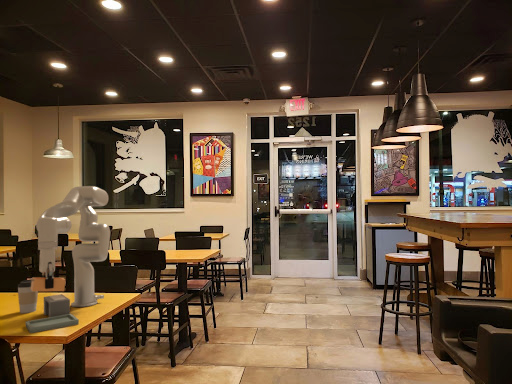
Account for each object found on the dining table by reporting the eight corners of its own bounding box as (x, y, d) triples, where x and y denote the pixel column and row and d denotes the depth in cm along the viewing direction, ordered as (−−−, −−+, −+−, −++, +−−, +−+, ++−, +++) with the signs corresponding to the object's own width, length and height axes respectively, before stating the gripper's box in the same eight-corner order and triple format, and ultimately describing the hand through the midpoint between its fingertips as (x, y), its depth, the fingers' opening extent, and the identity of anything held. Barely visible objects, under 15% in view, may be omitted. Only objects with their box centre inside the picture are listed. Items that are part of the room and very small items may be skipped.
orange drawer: (60, 289, 174) (62, 277, 175) (64, 291, 169) (65, 279, 169) (29, 289, 167) (30, 277, 168) (31, 291, 161) (33, 279, 162)
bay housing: (69, 317, 179) (69, 298, 179) (50, 320, 174) (50, 301, 174) (61, 310, 191) (61, 293, 192) (43, 313, 186) (43, 296, 187)
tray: (71, 318, 177) (71, 313, 177) (78, 324, 166) (78, 319, 167) (25, 326, 166) (25, 321, 166) (30, 333, 155) (30, 328, 155)
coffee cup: (41, 310, 192) (41, 280, 193) (21, 314, 185) (21, 283, 186) (34, 308, 198) (34, 278, 199) (14, 311, 191) (14, 281, 192)
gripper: (35, 245, 174) (35, 285, 173) (41, 247, 160) (41, 291, 159) (53, 244, 178) (53, 283, 177) (61, 246, 165) (61, 288, 164)
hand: (47, 286), depth 168 cm, fingers closed on orange drawer, 7 cm apart
